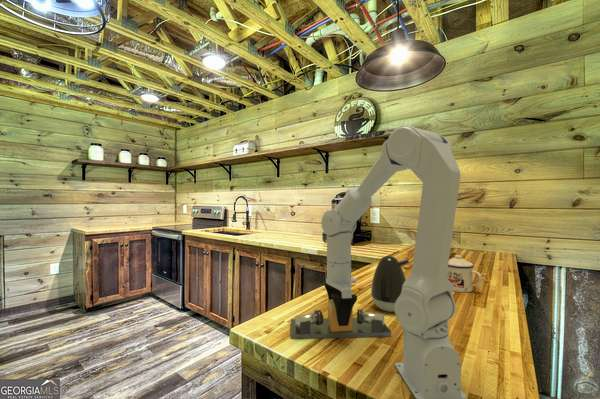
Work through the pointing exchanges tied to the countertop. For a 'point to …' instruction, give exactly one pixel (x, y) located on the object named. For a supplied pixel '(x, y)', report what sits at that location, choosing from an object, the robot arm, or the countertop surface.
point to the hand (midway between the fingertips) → (339, 318)
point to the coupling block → (333, 319)
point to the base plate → (325, 331)
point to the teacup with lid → (461, 274)
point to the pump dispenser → (388, 282)
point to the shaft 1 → (308, 321)
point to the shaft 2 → (371, 320)
